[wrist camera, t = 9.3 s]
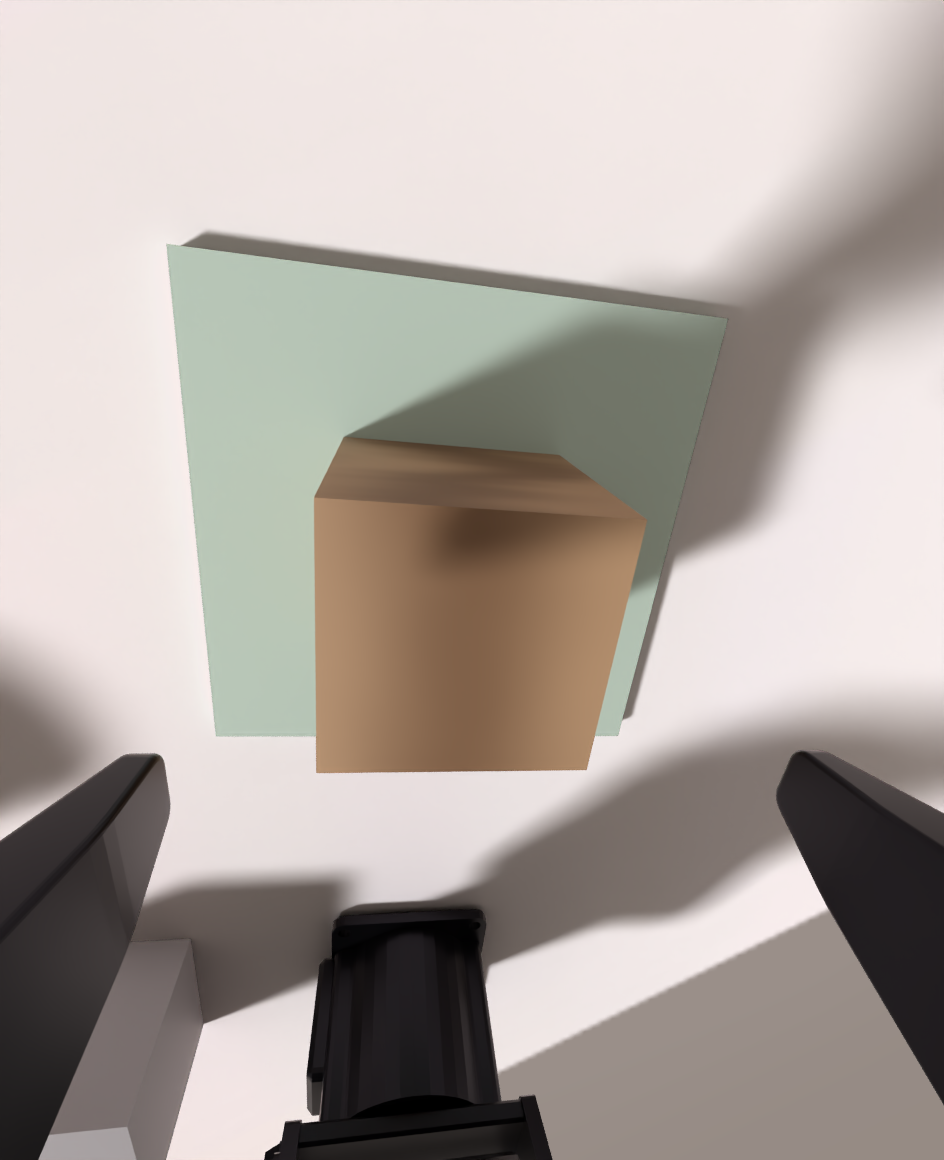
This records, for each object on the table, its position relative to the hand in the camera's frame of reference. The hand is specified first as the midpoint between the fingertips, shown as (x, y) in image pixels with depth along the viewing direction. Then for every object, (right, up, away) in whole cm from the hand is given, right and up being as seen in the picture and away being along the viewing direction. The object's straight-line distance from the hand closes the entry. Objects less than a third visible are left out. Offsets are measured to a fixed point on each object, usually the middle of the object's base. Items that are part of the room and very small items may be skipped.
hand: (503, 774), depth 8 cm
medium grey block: (-15, -15, +16) cm, 26 cm away
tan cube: (-1, +4, +9) cm, 9 cm away
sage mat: (-1, +4, +9) cm, 10 cm away
